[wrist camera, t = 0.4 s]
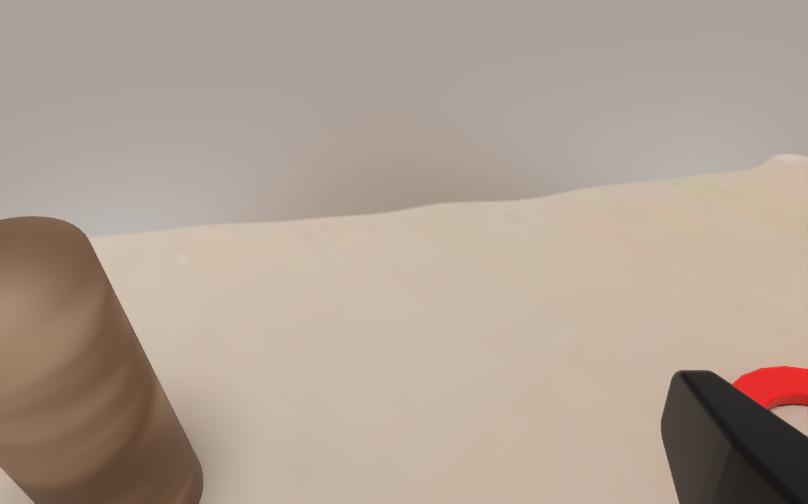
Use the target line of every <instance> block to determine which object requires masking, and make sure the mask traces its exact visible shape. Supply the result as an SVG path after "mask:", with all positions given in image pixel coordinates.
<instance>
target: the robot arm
mask: <svg viewBox="0 0 808 504" xmlns="http://www.w3.org/2000/svg"><path fill="white" fill-rule="evenodd" d="M661 434H662V440H663V444H664V447H665V451H666V455H667V459H668V462H669V466H670V470H671V474H672V478H673V481H674V485H675V489H676V493H677V496H678V500H679V504H808V437H807V436H806V435H804V434H803V433H801V432H800V431H798V430H797V429H796V428H794V427H793V426H791V425H790V424H788V423H787V422H785V421H784V420H782V419H781V418H780V417H778V416H777V415H775V414H774V413H772V412H771V411H769V410H768V409H766V408H765V407H763V406H762V405H761V404H759V403H758V402H756V401H755V400H753V399H752V398H750V397H749V396H747V395H746V394H745V393H743V392H742V391H740V390H739V389H737V388H736V387H734V386H733V385H731V384H730V383H729V382H727V381H726V380H724V379H723V378H721V377H720V376H718V375H717V374H715V373H713V372H711V371H707V370H680V371H678V372H676V373H675V374H674V375H673V377H672V380H671V383H670V387H669V391H668V395H667V399H666V403H665V407H664V411H663V415H662V419H661Z"/></svg>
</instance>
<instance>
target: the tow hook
mask: <svg viewBox="0 0 808 504" xmlns="http://www.w3.org/2000/svg"><path fill="white" fill-rule="evenodd" d="M732 385H733V386H734V387H736V388H737V389H739V390H740V391H742V392H743V393H745V394H746V395H747V396H749V397H750V398H752V399H753V400H755V401H756V402H758V403H759V404H761V405H762V406H763V407H765V408H766V409H770V408H773V407H775V406H778V405H784V404H794V403H795V404H803V405H808V369H804V368H796V367H787V366H781V367H771V368H761V369H758V370H756V371H753V372H751V373H748V374H745V375H743V376H741V377H740V378H739V379H738V380H737V381H735V382H734V383H733V384H732ZM807 437H808V435H807Z"/></svg>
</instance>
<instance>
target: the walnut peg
mask: <svg viewBox="0 0 808 504" xmlns="http://www.w3.org/2000/svg"><path fill="white" fill-rule="evenodd" d="M0 467H1V468H2V469H3V470H4V471H5V472H6V473H7V474H8V475H9V476H10V477H11V479H12V480H13V481H14V482H15V483H16V484H17V485H18V486H19V487H20V488H21V489H22V490H23V491H24V492H25V493H26V494H27V495H28V496H29V498H30V499H31V500H32V501H33V502H34V503H35V504H199V501H200V498H201V494H202V489H203V474H202V469H201V466H200V463H199V461H198V459H197V457H196V455H195V453H194V451H193V449H192V447H191V445H190V443H189V441H188V439H187V437H186V435H185V433H184V431H183V429H182V426H181V424H180V422H179V420H178V418H177V416H176V414H175V412H174V410H173V408H172V406H171V404H170V402H169V400H168V398H167V396H166V394H165V392H164V390H163V388H162V386H161V384H160V382H159V380H158V378H157V376H156V374H155V372H154V370H153V368H152V366H151V364H150V362H149V360H148V358H147V356H146V354H145V352H144V350H143V348H142V346H141V344H140V342H139V340H138V338H137V336H136V334H135V332H134V330H133V328H132V326H131V324H130V322H129V320H128V318H127V316H126V314H125V312H124V310H123V308H122V306H121V304H120V302H119V300H118V298H117V296H116V294H115V292H114V290H113V288H112V286H111V284H110V282H109V280H108V278H107V275H106V273H105V271H104V269H103V267H102V265H101V263H100V261H99V259H98V257H97V255H96V253H95V251H94V249H93V247H92V245H91V243H90V241H89V239H88V238H87V237H86V235H85V234H84V233H83V232H82V231H81V230H80V229H79V228H77V227H76V226H74V225H73V224H70V223H68V222H66V221H63V220H59V219H55V218H49V217H36V216H31V217H16V218H9V219H3V220H0Z"/></svg>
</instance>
